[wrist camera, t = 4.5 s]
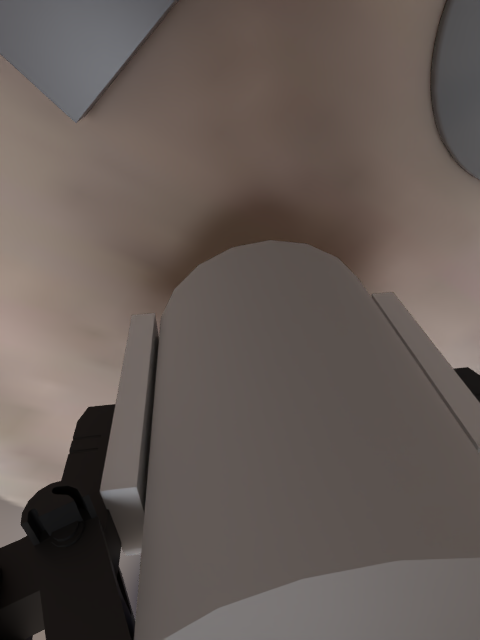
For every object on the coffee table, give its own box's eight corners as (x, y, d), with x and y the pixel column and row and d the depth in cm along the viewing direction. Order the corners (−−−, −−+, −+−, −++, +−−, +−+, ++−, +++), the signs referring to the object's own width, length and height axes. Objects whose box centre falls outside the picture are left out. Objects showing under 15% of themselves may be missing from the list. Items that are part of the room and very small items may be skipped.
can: (239, 182, 13) (432, 731, 3) (402, 296, 16) (768, 750, 6) (122, 351, 16) (18, 892, 6) (277, 418, 19) (379, 848, 9)
